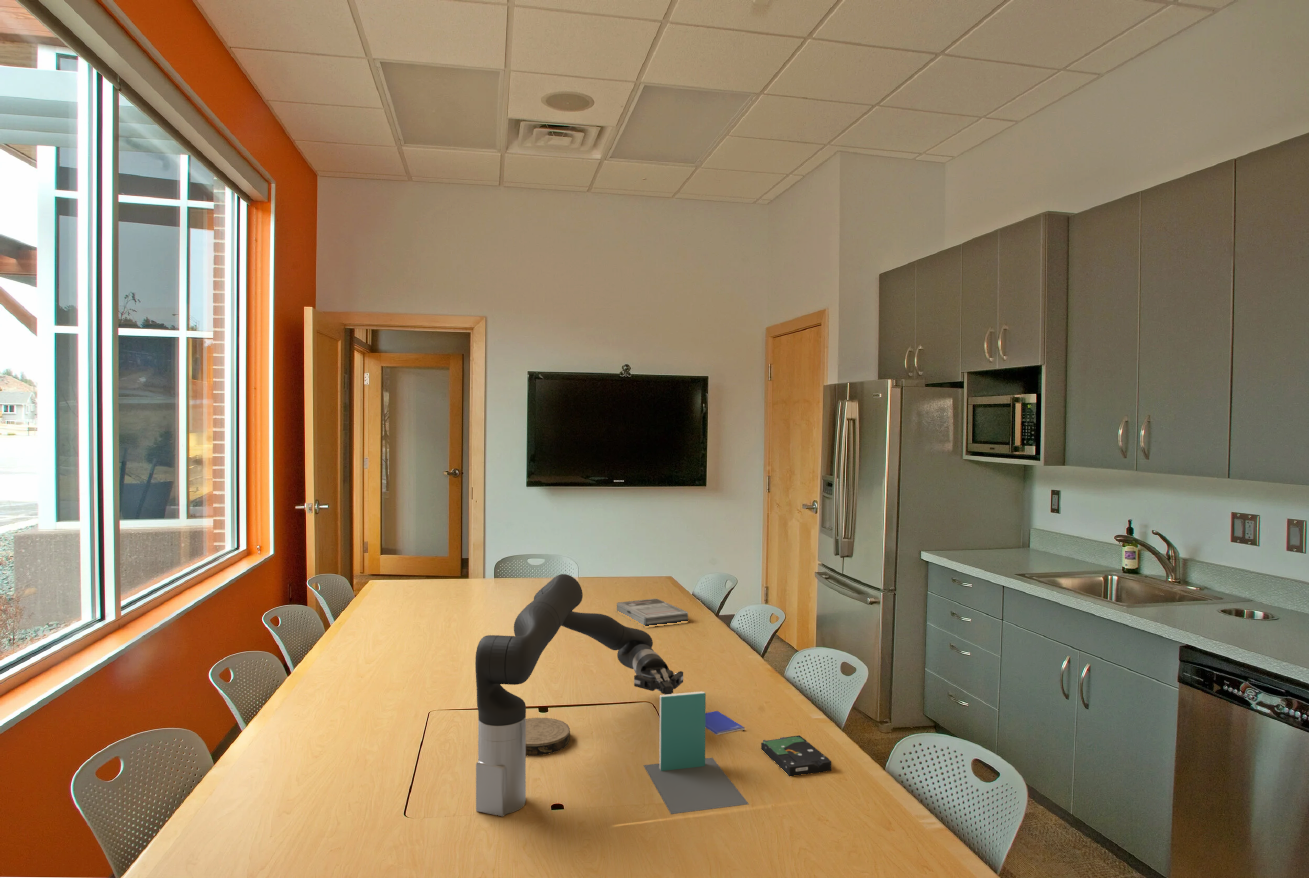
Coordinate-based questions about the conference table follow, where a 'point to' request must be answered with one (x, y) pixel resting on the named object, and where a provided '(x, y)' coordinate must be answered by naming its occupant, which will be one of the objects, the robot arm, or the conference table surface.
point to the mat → (695, 788)
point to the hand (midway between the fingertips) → (668, 691)
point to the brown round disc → (546, 736)
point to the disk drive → (796, 755)
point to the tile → (682, 730)
